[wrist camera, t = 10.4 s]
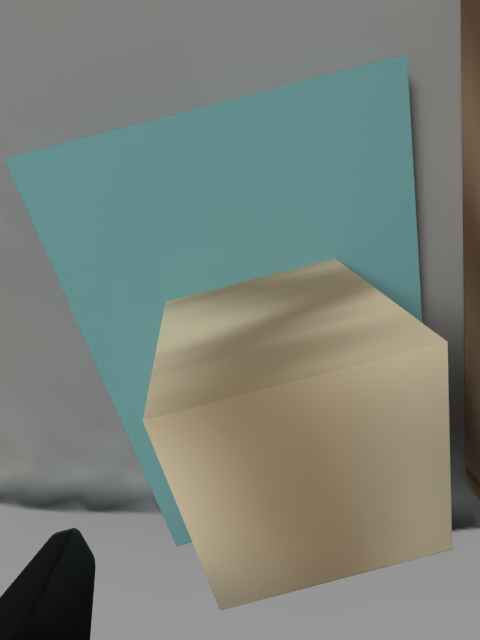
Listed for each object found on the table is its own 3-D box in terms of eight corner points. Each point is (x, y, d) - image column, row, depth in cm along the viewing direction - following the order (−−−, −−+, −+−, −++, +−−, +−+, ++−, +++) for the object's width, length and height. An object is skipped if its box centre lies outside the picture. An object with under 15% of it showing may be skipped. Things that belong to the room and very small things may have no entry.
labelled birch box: (335, 258, 11) (447, 342, 6) (355, 406, 13) (452, 557, 8) (165, 302, 11) (142, 420, 6) (212, 443, 13) (223, 617, 8)
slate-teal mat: (20, 158, 10) (4, 158, 10) (388, 62, 11) (406, 54, 10) (177, 523, 16) (176, 546, 15) (417, 459, 16) (431, 478, 15)
